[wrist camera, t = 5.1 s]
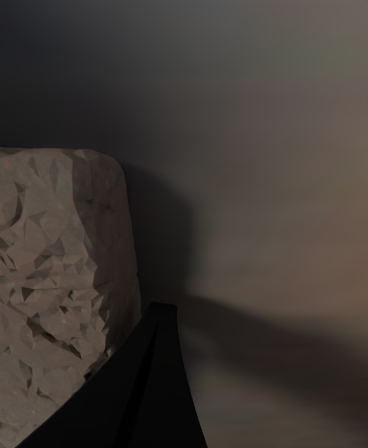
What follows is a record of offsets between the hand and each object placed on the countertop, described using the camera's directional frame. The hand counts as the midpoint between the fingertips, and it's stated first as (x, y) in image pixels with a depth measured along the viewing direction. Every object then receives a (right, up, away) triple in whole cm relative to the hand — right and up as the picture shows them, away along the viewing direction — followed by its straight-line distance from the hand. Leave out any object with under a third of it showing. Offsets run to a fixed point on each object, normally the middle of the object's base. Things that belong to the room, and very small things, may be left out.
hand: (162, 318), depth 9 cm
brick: (-5, +1, +3) cm, 6 cm away
